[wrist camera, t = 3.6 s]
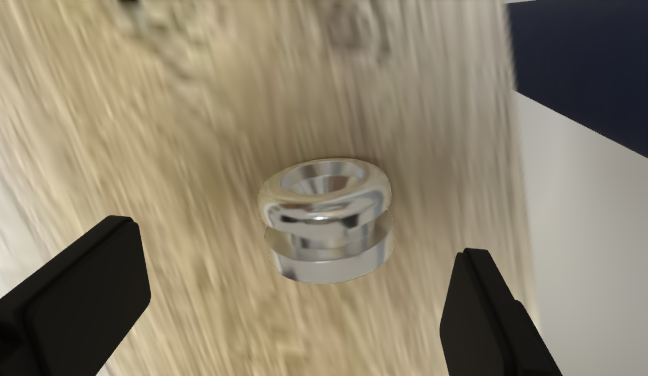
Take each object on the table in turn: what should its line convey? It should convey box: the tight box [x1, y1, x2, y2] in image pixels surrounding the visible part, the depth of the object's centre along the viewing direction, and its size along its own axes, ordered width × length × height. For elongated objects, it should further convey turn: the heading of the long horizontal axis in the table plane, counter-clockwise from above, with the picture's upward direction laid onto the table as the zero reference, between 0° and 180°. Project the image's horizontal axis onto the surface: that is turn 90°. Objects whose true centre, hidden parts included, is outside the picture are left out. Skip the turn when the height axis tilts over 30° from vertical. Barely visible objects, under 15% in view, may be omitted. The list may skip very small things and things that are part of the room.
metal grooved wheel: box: [257, 158, 394, 284], centre depth 14 cm, size 5×3×5 cm, turn 97°
